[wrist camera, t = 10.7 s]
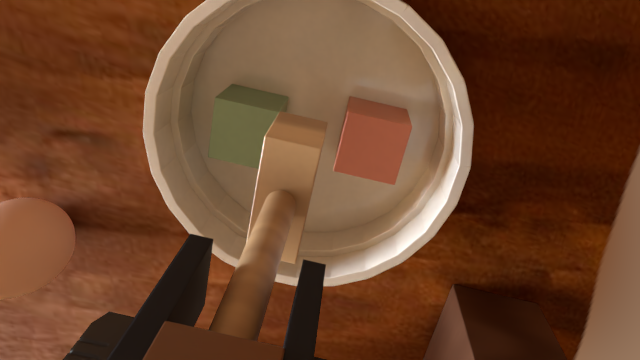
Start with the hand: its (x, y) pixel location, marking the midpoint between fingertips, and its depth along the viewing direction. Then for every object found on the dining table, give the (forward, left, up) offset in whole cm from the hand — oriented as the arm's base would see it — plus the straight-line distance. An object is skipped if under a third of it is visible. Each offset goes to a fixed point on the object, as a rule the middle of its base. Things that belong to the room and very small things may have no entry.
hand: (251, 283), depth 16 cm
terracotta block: (-4, 0, -19) cm, 19 cm away
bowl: (0, 0, -19) cm, 19 cm away
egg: (+19, +13, -20) cm, 30 cm away
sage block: (+4, +1, -19) cm, 19 cm away
